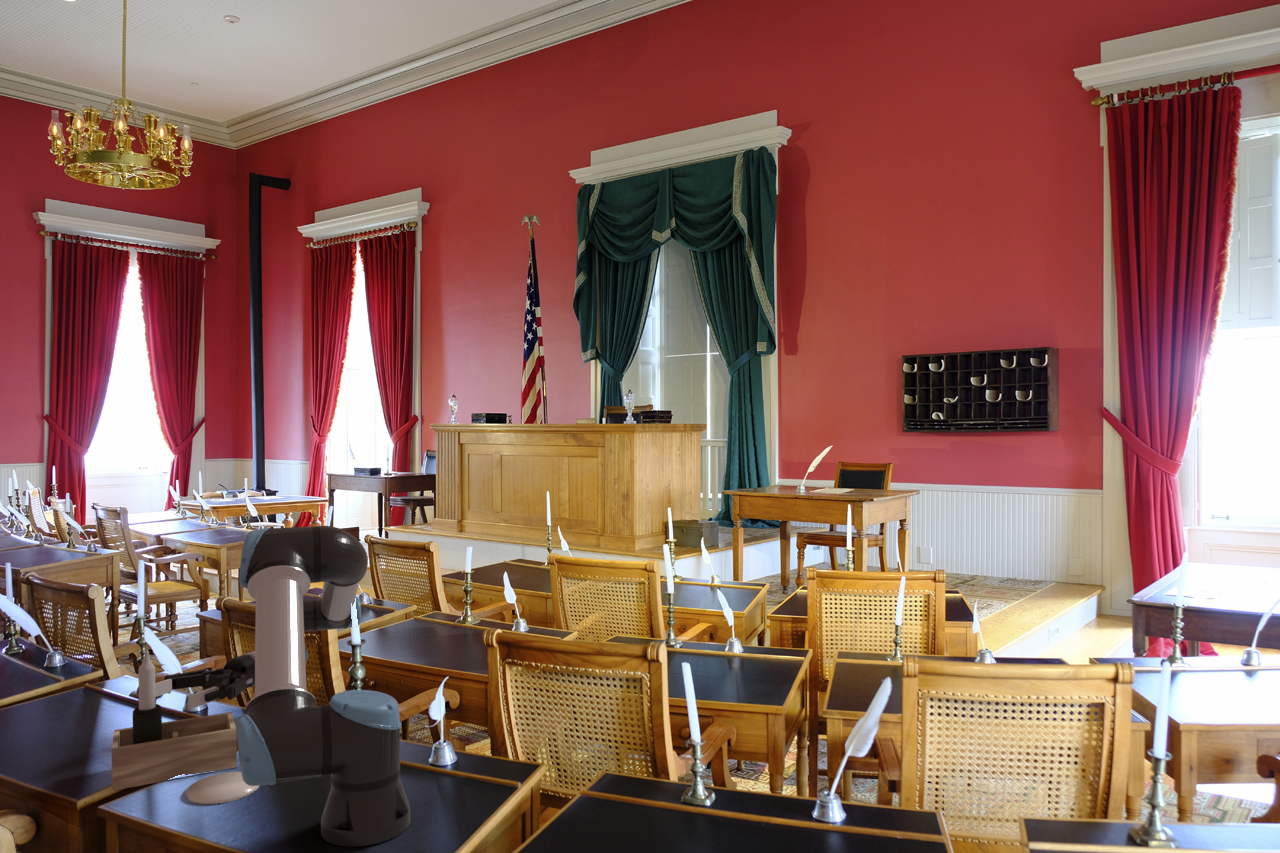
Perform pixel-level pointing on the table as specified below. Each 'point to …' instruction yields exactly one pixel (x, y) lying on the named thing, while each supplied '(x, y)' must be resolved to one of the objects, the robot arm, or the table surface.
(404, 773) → the table surface
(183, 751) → the candle box
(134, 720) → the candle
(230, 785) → the plate
